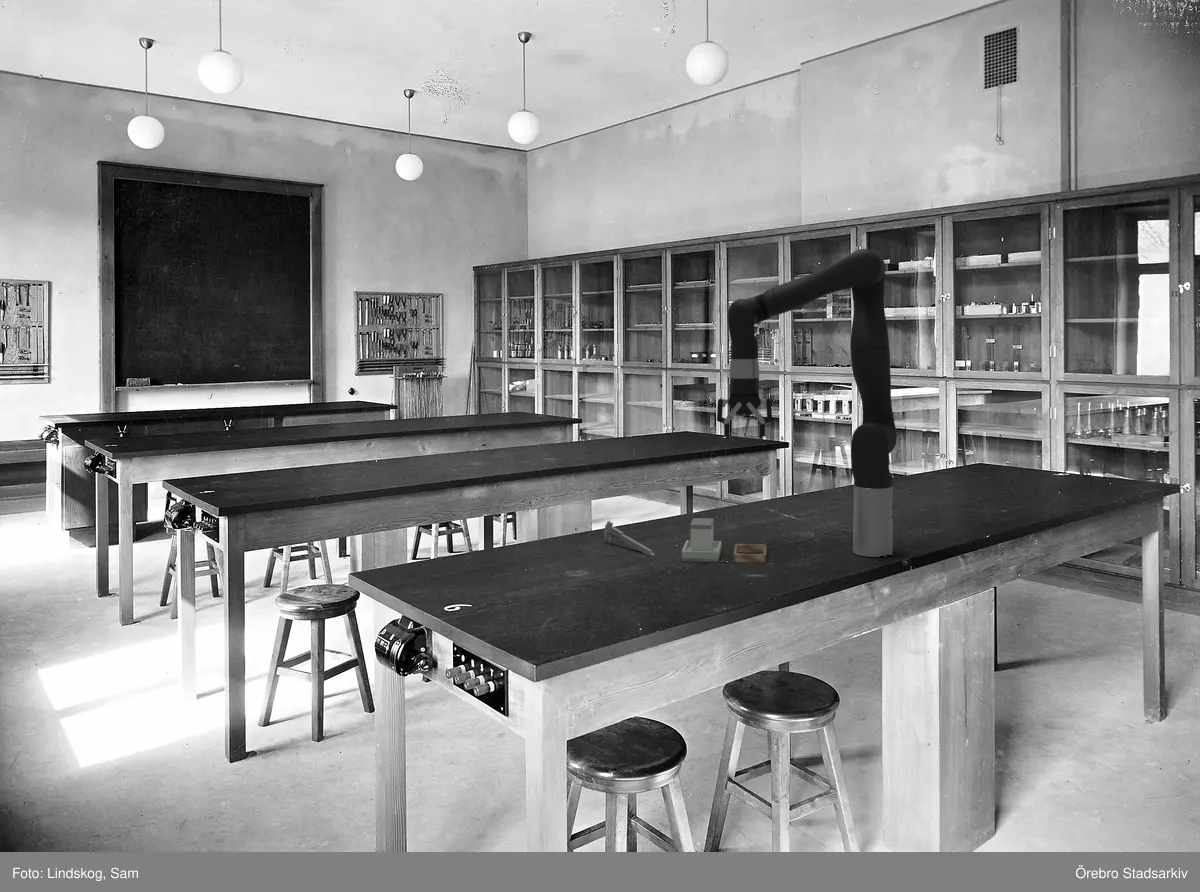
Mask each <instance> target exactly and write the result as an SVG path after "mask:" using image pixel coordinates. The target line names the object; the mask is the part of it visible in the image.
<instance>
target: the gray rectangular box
mask: <svg viewBox="0 0 1200 892" xmlns="http://www.w3.org/2000/svg"><path fill="white" fill-rule="evenodd" d="M714 521H715V519H714V518H711V517H709V518H707V517H706V518H704V517H703V518H702V517H701V518H700V517H697V518H696V517H693V518H692V520H691V522H690V525H689V529H690V540H691V551H705V552H713V541H714V524H715V523H714Z"/></svg>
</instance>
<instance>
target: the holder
mask: <svg viewBox="0 0 1200 892" xmlns="http://www.w3.org/2000/svg"><path fill="white" fill-rule="evenodd" d="M733 549H734V550H733V555H732V556H733V557H732V559H733V563H750V564H752V563H753V564H766V563H767V544H757V543H756V544H755V543H754V544H752V543H751V544H749V543H748V544H746V543H745V544H744V543H735V544H734V548H733Z"/></svg>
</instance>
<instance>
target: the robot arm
mask: <svg viewBox="0 0 1200 892" xmlns="http://www.w3.org/2000/svg"><path fill="white" fill-rule="evenodd" d="M885 278H886V263H885V261H884V259H883V257H882V256H881V255H880V254H879V253H878V252H876V251H874V250H872V249H869V248H860V249H857V250H854V251H853V252H852V253H850V254H848V255H847V256H845V257H843V258H841V259H840V260H839V259H838V261H835V262H834V263H832V264H829V265H828V266H826V267H824V268H822V269H820V270H817V271H815V272H813V273H812V272H811V273H809V274H808V275H803V276H801V277H799V278H795V279H793V280H789V281H787V282H784V283H781V284H779V285H776V286H774V287H771V288H769V289H766V291H764V292H763V293H761V294H758V295H754V296H751V297H749V298H738V299H735V300H734V301H733V302H732V303H730V305H729V308H728V310H727V311H728V312H727V325H728V332H729V337H730V365H729V398H728V399H725V398H723V399H722V398H719V399H718V400H717V407H716V408H717V413H716V415H717V416H716V421H717V422H718V423H721V424H723V435H724V437H726V439H730V435H731V432H730V431H731V429H730V427H731V426H730V425H731V424H730V421H731V420H732V418H733V417H734V416H735V415H737V416H751V415H754V417H755V418H756V419H757V420H758V422H759V439H763V437H765V436H766V425H767V423H770V422H772V421H773V414H772V413H773V412H772V399H771V398H770V397H768V398H765V399H764V398H762V399H761V398H760V365H759V364H760V363H759V342H758V338H757V337H756V334H755V333H756V331H755V330H756V329H755V325H757V324H759V323H761V322H764V321H766V320H768V319H770V318H772V317H775V316H778V315H781V314H782V315H783V314H784V313H788V312H790V311H793V310H796V309H798V308H801V307H803V306H805V305H807V304H809V303H811V302H813V301H816V300H818V299H820V298H821V297H823V296H827V295H829V294H833V293H836V292H838V291H843V290H846V289H847V290H848V289H851V294H852V296H851V297H852V301H853V316H852V324H851V332H850V345H849V346H850V348H849V349H850V364H851V371H852V374H853V378H854V381H855V384H856V387H857V390H858V392H859V395H860V400H861V406H862V424H860V425H858V426H857V428H856V429H855V430H854V431H853V433H852V436H851V443H850V444H851V445H850V450H851V451H850V457H851V458H850V459H851V460H850V461H851V466H850V467H851V474H852V477H853V517H852V518H853V519H852V521H853V525H852V527H853V528H852V532H853V533H852V553H854V554H855V555H857V556H862V557H869V558H881V557H880V556H884V557H887V556H886V555H892V556H893V547H894V545H893V543H894V541H893V540H894V539H893V537H894V536H893V535H894V534H893V533H894V518H893V516H892V515H893V484H894V483H893V482H894V481H893V480H894V479H893V477H894V476H893V475H892V473H891V471H890V464H889V463H890V461H889V460H890V457H889V456H890V454H891V452H893V450H894V449H895V447H896V444H897V440H898V439H897V437H898V435H897V434H898V433H897V430H896V424H895V418H894V412H893V406H892V379H891V377H892V376H891V353H890V340H889V331H888V324H887V323H888V322H887V319H886V317H887V316H886V313H885V312H886V311H885V298H884V297H885V283H886V282H885V281H886V280H885ZM727 404H728V406H729V407H730V408H731V411H730V412H729V413H728V414H727V416H726V417H724V416H723V409H724V408H725V407H726V405H727ZM761 404H762V405H763V407H764V408H766V417H764V416H762V414H761V413H760V411H759V410H758V408H759V406H760V405H761Z"/></svg>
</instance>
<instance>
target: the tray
mask: <svg viewBox="0 0 1200 892" xmlns="http://www.w3.org/2000/svg"><path fill="white" fill-rule="evenodd" d="M721 553H722V540H713V552H705V551H691V539H690V540H689V539H688V540H685V543H684V545H683V547H682V550H681V562H691V563H694V562H695V563H696V562H698V563H704V562H705V563H719V562H720V557H721Z"/></svg>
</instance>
